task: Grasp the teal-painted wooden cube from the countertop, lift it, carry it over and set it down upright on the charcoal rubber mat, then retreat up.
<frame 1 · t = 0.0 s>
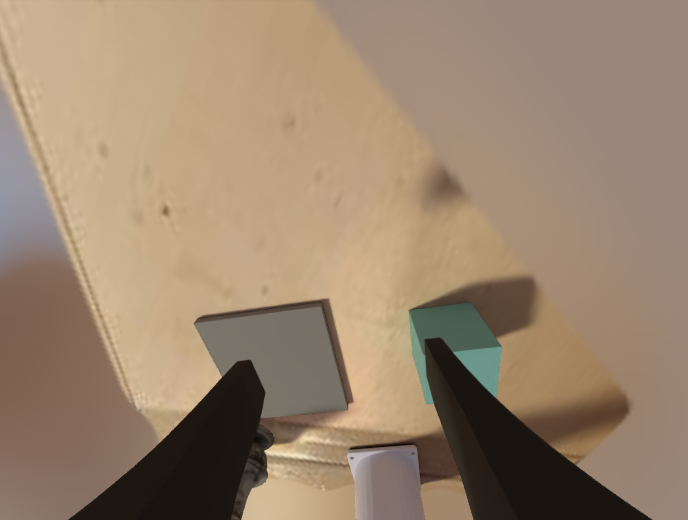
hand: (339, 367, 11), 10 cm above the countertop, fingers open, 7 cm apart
charcoal mat: (279, 365, 25), on the countertop
teal cube: (439, 329, 23), on the countertop
salt shaker: (251, 435, 30), on the countertop
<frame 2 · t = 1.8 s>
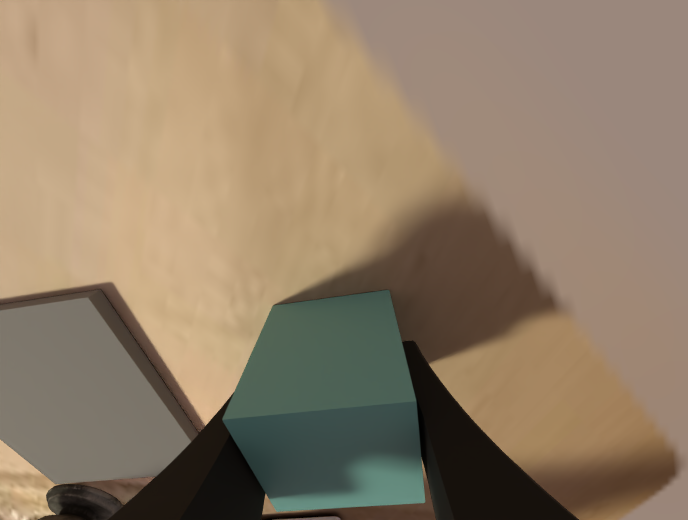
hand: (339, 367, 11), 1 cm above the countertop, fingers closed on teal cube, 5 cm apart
charcoal mat: (78, 402, 14), on the countertop
teal cube: (340, 342, 12), on the countertop, touching gripper
salt shaker: (89, 499, 20), on the countertop
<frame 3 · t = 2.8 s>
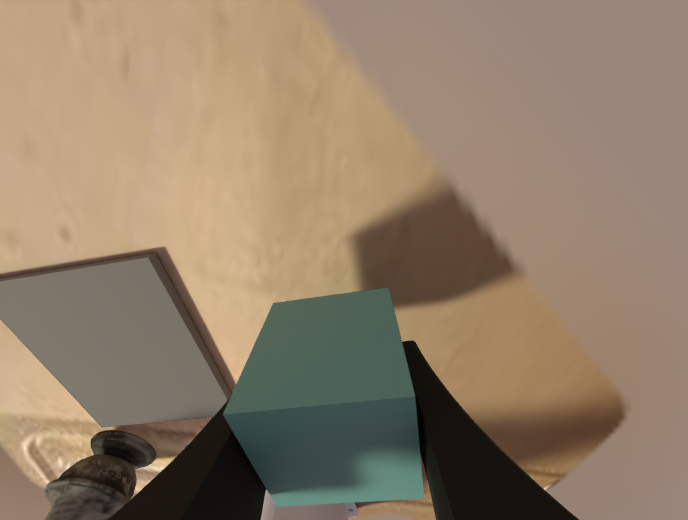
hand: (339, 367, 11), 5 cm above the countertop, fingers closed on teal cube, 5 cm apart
charcoal mat: (127, 352, 18), on the countertop
teal cube: (340, 340, 12), point 3 cm above the countertop, touching gripper
salt shaker: (126, 446, 23), on the countertop
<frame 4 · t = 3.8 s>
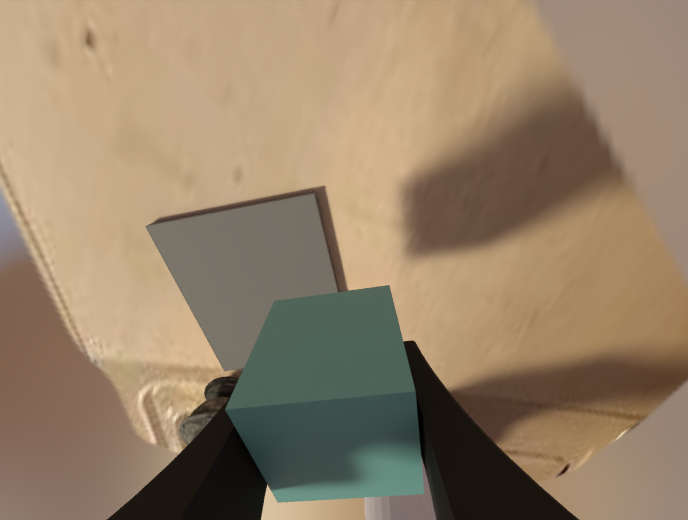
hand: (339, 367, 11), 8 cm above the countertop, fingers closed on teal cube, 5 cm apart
charcoal mat: (263, 293, 19), on the countertop
teal cube: (341, 337, 12), point 7 cm above the countertop, touching gripper
salt shaker: (234, 395, 25), on the countertop
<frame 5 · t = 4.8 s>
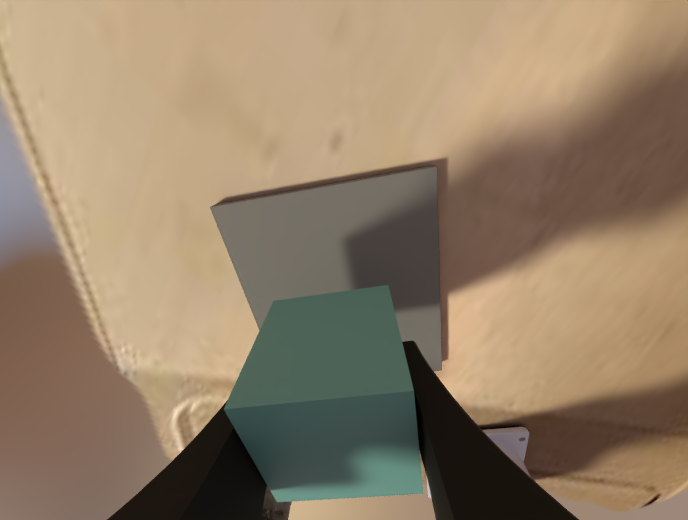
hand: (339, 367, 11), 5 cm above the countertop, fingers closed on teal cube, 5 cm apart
charcoal mat: (343, 295, 16), on the countertop
teal cube: (340, 337, 12), point 4 cm above the countertop, touching gripper
salt shaker: (286, 413, 21), on the countertop
when the fingers open (3 cm above the countertop, at t = 5.7 s): teal cube drops 1 cm, resting on charcoal mat.
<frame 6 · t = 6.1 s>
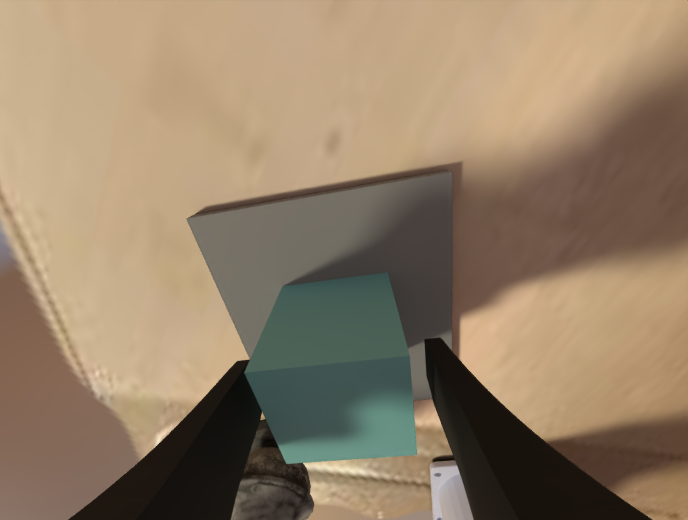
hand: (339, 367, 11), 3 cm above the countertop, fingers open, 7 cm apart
charcoal mat: (341, 315, 14), on the countertop
teal cube: (342, 321, 13), point 1 cm above the countertop, touching charcoal mat
salt shaker: (280, 439, 19), on the countertop
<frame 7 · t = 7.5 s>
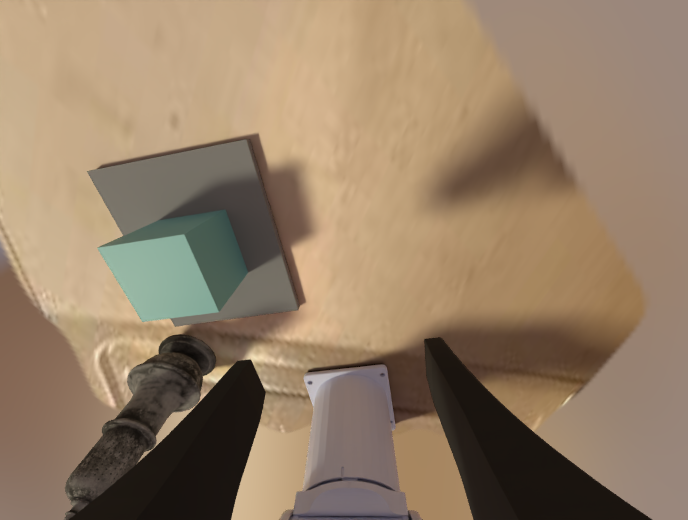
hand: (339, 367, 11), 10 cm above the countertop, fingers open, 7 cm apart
charcoal mat: (208, 245, 20), on the countertop
teal cube: (205, 247, 19), point 1 cm above the countertop, touching charcoal mat
salt shaker: (189, 354, 25), on the countertop
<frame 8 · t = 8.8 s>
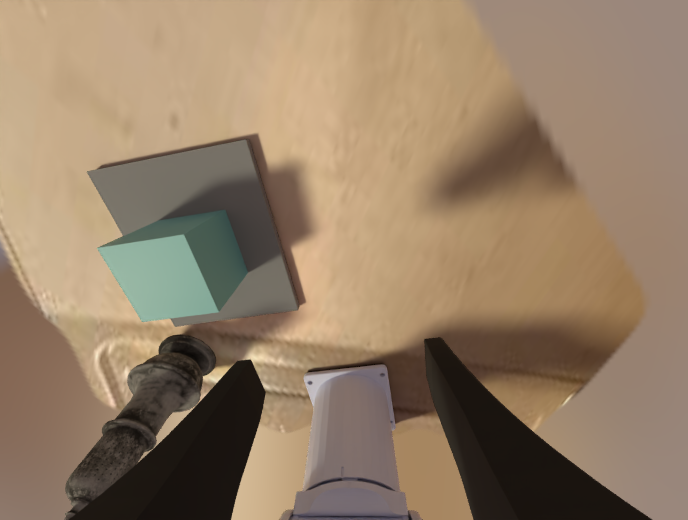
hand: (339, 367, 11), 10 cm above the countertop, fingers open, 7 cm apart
charcoal mat: (208, 245, 20), on the countertop
teal cube: (205, 247, 19), point 1 cm above the countertop, touching charcoal mat
salt shaker: (189, 354, 25), on the countertop
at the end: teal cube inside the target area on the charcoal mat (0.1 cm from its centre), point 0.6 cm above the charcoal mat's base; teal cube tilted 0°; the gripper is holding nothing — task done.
